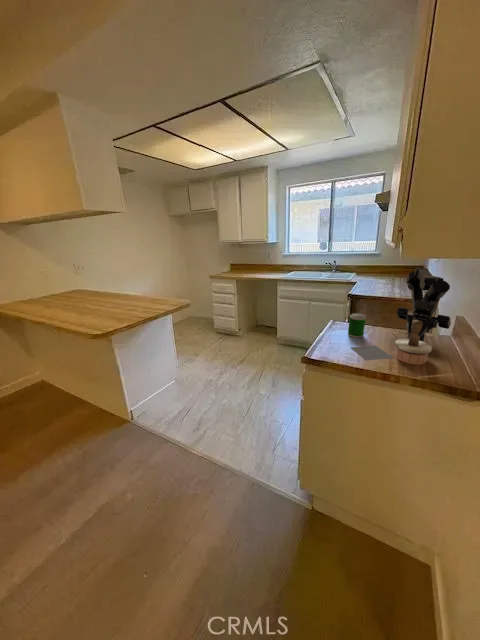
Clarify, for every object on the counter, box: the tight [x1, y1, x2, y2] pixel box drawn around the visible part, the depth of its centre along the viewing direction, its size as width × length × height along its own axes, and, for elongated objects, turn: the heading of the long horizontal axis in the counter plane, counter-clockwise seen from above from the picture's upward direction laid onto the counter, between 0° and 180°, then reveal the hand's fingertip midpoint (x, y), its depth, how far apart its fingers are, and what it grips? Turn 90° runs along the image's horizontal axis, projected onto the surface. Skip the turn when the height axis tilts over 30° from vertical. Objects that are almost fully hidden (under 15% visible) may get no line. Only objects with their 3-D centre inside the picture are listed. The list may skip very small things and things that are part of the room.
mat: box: [349, 345, 395, 361], centre depth 119 cm, size 13×13×1 cm
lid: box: [394, 320, 433, 354], centre depth 110 cm, size 13×13×12 cm
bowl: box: [394, 347, 429, 366], centre depth 112 cm, size 11×11×4 cm
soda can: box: [347, 312, 367, 339], centre depth 137 cm, size 8×8×12 cm
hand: (414, 334), depth 109 cm, fingers closed on lid, 4 cm apart
